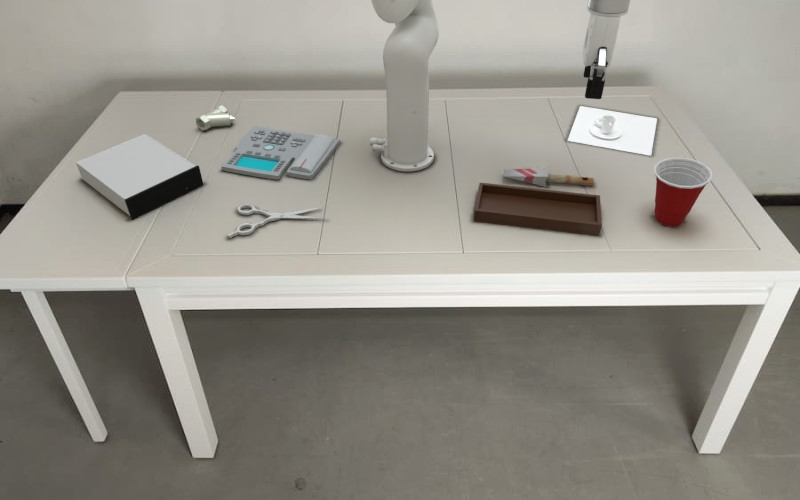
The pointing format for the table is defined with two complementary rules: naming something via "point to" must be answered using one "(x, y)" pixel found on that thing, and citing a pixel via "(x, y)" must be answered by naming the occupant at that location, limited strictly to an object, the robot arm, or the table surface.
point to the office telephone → (280, 153)
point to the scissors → (271, 217)
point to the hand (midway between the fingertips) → (591, 87)
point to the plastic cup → (678, 188)
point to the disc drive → (140, 175)
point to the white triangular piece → (614, 130)
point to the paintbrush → (545, 177)
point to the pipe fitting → (215, 118)
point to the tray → (538, 208)
